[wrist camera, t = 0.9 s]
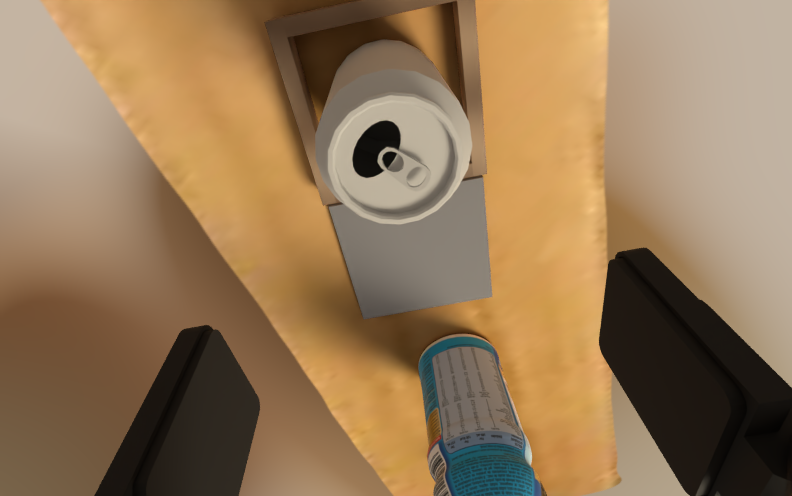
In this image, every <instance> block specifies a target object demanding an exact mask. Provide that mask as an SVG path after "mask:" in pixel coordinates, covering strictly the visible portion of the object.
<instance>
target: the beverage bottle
mask: <svg viewBox="0 0 792 496" xmlns="http://www.w3.org/2000/svg"><path fill="white" fill-rule="evenodd" d="M418 368H419V376H420V380H421V386H422V392H423V400H424V408H425V417H426V426H427V434H428V443H429V448H428V454H427V457H428V465H429V470H430V473H431V475H432V477H433V479H434V480H435V482H436V484H435V487H434V496H541V484H540V480H539V477H538V475H537V473H536V471H535V470H534V469H533V468H532V467H531V461H532V453H531V448H530V445H529V442H528V439H527V437H526V435H525V434H524V432H523V429H522V426H521V424H520V421H519V418H518V415H517V412H516V409H515V406H514V403H513V400H512V397H511V394H510V391H509V389H508V386H507V383H506V380H505V377H504V374H503V371H502V368H501V365H500V361H499V357H498V354H497V352H496V350H495V348H494V347H493V345H492V344H491V343H489V342H488V341H487V340H485V339H484V338H481V337H479V336H476V335H471V334H454V335H449V336H446V337H443V338H440V339H438V340H436V341H435V342H433V343H432V344H430V345H429V346H428V347H427V348H426V349H425V350H424V352H423V353H422V355H421V357H420V360H419V365H418Z"/></svg>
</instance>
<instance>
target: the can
mask: <svg viewBox="0 0 792 496" xmlns="http://www.w3.org/2000/svg"><path fill="white" fill-rule="evenodd" d="M471 151H472V140H471V132H470V124H469V121H468V119H467V117H466V115H465V113H464V111H463V109H462V107H461V105H460V103H459V101H458V99H457V98H456V96H455V95H454V93H453V92H452V90H451V89H450V87H449V86H448V85H447V83H446V82H445V80H444V79H443V77H442V76H441V74H440V73H439V71H438V70H437V68H436V67H435V65H434V64H433V63H432V61H431V60H429V59H428V58H427V57H426V56H425V55H424V54H423V53H422V52H421V51H420V50H419V49H418V48H416V47H413V46H411V45H409V44H407V43H405V42H403V41H397V40H386V39H381V40H378V41H374V42H370V43H366V44H363V45H362V46H360V47H359V48H358V49H356V50H355V51H353V52H352V53H350V54H349V55H348V56H347V57H346V59H345V60H344V61H343V63H342V64H341V65H340V67H339V68H338V69H337V71H336V74H335V77H334V80H333V83H332V86H331V89H330V92H329V95H328V98H327V101H326V104H325V107H324V110H323V113H322V116H321V119H320V122H319V125H318V128H317V131H316V134H315V152H316V162H317V165H318V167H319V170H320V173H321V176H322V179H323V181H324V183H325V184H326V185H327V187H328V188H329V189H330V191H331V192H332V193H333V195H334V196H335V197H336V198H337V200H339V201H340V202H342V203H343V204H344V205H345V206H346V207H348V208H349V209H351V210H352V211H353V212H355V213H356V214H358V215H359V216H360V217H363V218H366V219H369V220H371V221H374V222H377V223H382V224H404V223H409V222H413V221H418V220H421V219H422V218H424V217H426V216H428V215H430V214H432V213H434V212H435V211H437V210H438V209H439V208H440V207H441V206H442V205H443V204H444V203H445V202H446V201H447V200H448V199H449V198H450V197H451V196H452V195H453V193H454V192H455V191H456V190H457V188H458V186H459V185H460V183H461V181H462V179H463V177H464V175H465V174H466V172H467V170H468V166H469V161H470V156H471Z"/></svg>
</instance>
